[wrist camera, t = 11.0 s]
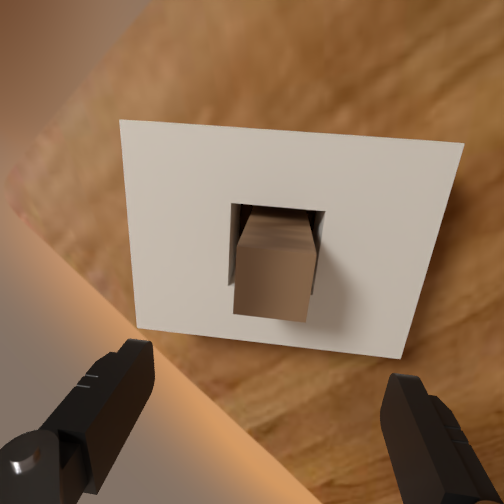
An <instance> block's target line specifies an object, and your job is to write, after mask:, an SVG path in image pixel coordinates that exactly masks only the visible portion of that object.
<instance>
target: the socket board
mask: <svg viewBox="0 0 504 504" xmlns="http://www.w3.org/2000/svg"><path fill="white" fill-rule="evenodd" d="M119 121H120V132H121V144H122V156H123V168H124V179H125V191H126V203H127V215H128V226H129V238H130V250H131V262H132V273H133V285H134V297H135V308H136V320H137V328H142V329H151V330H159V331H168V332H176V333H185V334H193V335H201V336H210V337H218V338H227V339H235V340H243V341H252V342H260V343H269V344H277V345H286V346H294V347H302V348H311V349H319V350H328V351H336V352H344V353H353V354H361V355H370V356H378V357H387V358H395V359H401V356H402V353H403V350H404V346H405V343H406V339H407V336H408V333H409V329H410V326H411V323H412V319H413V316H414V313H415V309H416V306H417V302H418V299H419V296H420V292H421V289H422V286H423V282H424V279H425V276H426V272H427V269H428V265H429V262H430V259H431V255H432V252H433V249H434V245H435V242H436V238H437V235H438V232H439V228H440V225H441V222H442V218H443V215H444V212H445V208H446V205H447V201H448V198H449V195H450V191H451V188H452V185H453V181H454V178H455V175H456V171H457V168H458V164H459V161H460V158H461V154H462V151H463V148H464V144H465V143H453V142H441V141H429V140H415V139H401V138H386V137H372V136H357V135H342V134H328V133H313V132H299V131H284V130H270V129H255V128H241V127H226V126H212V125H197V124H183V123H168V122H154V121H136V120H119ZM241 204H249V205H260V206H272V207H283V208H295V209H306V210H316V216H315V223H314V230H313V241H314V245H315V249H316V253H317V256H316V262H315V269H314V275H313V281H312V287H311V294H310V300H309V306H308V312H307V319H306V323H304V322H295V321H287V320H279V319H270V318H262V317H253V316H245V315H237V314H233V303H234V285H235V268H236V251H237V244H238V242H239V230H240V210H241Z"/></svg>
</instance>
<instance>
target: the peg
mask: <svg viewBox="0 0 504 504" xmlns="http://www.w3.org/2000/svg"><path fill="white" fill-rule="evenodd" d="M316 256H317V253H316V249H315V245H314V241H313V237H312V232H311V228H310V224H309V220H308V215H307V211H306V209H295V208H283V207H272V206H260V205H254V207H253V209H252V212H251V214H250V216H249V219H248V221H247V223H246V226H245V228H244V230H243V233H242V235H241V237H240V240H239V242H238V244H237V251H236V268H235V285H234V303H233V314H237V315H245V316H253V317H262V318H270V319H279V320H287V321H295V322H304V323H306V319H307V312H308V306H309V300H310V294H311V287H312V281H313V275H314V269H315V262H316Z"/></svg>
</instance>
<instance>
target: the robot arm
mask: <svg viewBox="0 0 504 504" xmlns="http://www.w3.org/2000/svg"><path fill="white" fill-rule="evenodd" d="M154 381H155V371H154V357H153V345H152V342H151V341H145V340H137V339H128V340H127V341H126V342H125V343H124V344H123V346H122V347H121V348H120V349H119V351H118V352H117V353H115V352H110V353H108V354H106V355H105V356H104V357H102V358H100V359H99V360H97V361H96V362H95V363H94V364H93V365H92V367H91V368H90V369H89V370H88V371H87V373H86V375H85V376H83V377H82V378H81V380H80V381H79V382H78V383H77V386H76V387H74V388H73V389H72V390H71V391H70V393H69V394H68V395H67V396H66V397H65V399H64V400H63V401H62V402H61V403H60V405H59V406H58V407H57V408H56V409H55V410H54V412H53V413H52V414H51V415H50V416H49V417H48V419H47V420H46V421H45V422H44V423H43V425H42V426H41V427H40V428H39V429H38V430H33V431H30V432H26V433H24V434H21V435H19V436H17V437H15V438H14V439H12V440H11V441H10V442H8V443H7V444H5V445H4V446H3V447H2V448H1V449H0V504H77V502H78V500H79V498H80V496H81V495H82V493H83V492H84V493H90V494H95V495H97V494H98V492H99V490H100V488H101V486H102V484H103V483H104V481H105V479H106V477H107V475H108V473H109V471H110V469H111V468H112V466H113V464H114V462H115V460H116V458H117V456H118V455H119V453H120V451H121V449H122V447H123V445H124V443H125V441H126V440H127V438H128V436H129V434H130V432H131V430H132V429H133V427H134V425H135V423H136V421H137V419H138V417H139V415H140V414H141V412H142V410H143V408H144V406H145V404H146V402H147V400H148V399H149V397H150V395H151V393H152V390H153V386H154ZM380 423H381V429H382V432H383V436H384V439H385V442H386V446H387V449H388V453H389V456H390V459H391V463H392V466H393V470H394V473H395V476H396V480H397V483H398V487H399V490H400V493H401V497H402V500H403V504H503V502H502V500H501V499H500V497H499V495H498V493H497V491H496V490H495V488H494V486H493V484H492V483H491V481H490V479H489V477H488V475H487V474H486V472H485V470H484V468H483V467H482V465H481V463H480V461H479V459H478V458H477V456H476V454H475V452H474V450H473V449H472V447H471V445H469V444H468V440H467V438H466V436H465V434H464V433H463V431H461V427H460V425H459V424H458V422H457V420H456V418H455V417H454V415H453V413H452V411H451V410H450V409H449V408H448V407H447V406H446V405H445V404H444V403H443V402H442V401H441V400H440V399H439V398H438V397H437V396H432V395H428V393H427V391H426V389H425V387H424V385H423V383H422V382H421V380H420V378H419V377H418V376H412V375H404V374H396V373H392V374H391V375H390V377H389V381H388V384H387V388H386V391H385V395H384V399H383V402H382V406H381V411H380Z"/></svg>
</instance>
